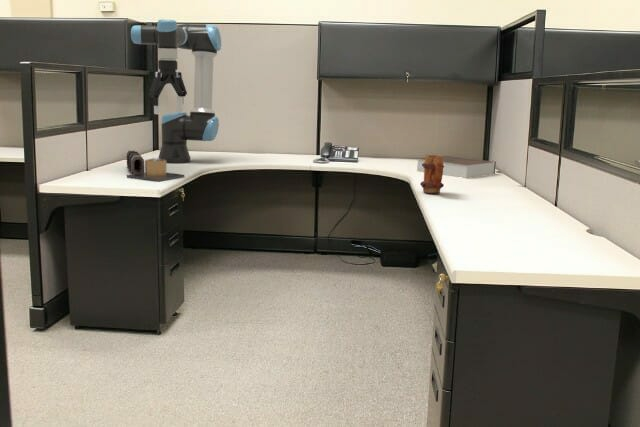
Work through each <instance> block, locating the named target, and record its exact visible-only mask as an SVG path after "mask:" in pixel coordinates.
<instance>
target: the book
mask: <svg viewBox="0 0 640 427" xmlns="http://www.w3.org/2000/svg"><path fill="white" fill-rule="evenodd" d="M441 156H442V158H443V165H444V168H443V176H446V177H452V176H453V177H454V178H459V177H462V178H461V179H471V178H470V177H474V178H478V177H477V176H481V177H484V176H483V175H488V176H491V175H490V174H496V166H497V163H496V161H491V160H484V159H475V158H466V157H459V156H452V155H441ZM416 159H417V163H416V164H417V168H416V171H417V172H420V173H424V168H423V166H422V164H423V163H424V162H425V157H423V158H422V157H421V158H416Z"/></svg>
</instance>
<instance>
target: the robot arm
mask: <svg viewBox="0 0 640 427" xmlns="http://www.w3.org/2000/svg"><path fill="white" fill-rule="evenodd" d="M130 38H131V41H132V42H133V44H137V45H157V59H158V61H157V63H158V64H157V65H158V66H157V67H158V70H159V71H154V72H153V79H152V83H151V85H150V89H149V92H148V96H150V98H152V103H153V104H152V105H153V114H154V115H161V113H162V112H161V111H162V109H161V107H162V106H161V97H160V95H161V94H162V91H163V89H164V88H165V86H166V85H168V84H170V85H171V86H172V88H173V89H174V91H175V92H176V95H177V96H176V112H175V113H174V112H173V113H165V114H163V115H162V116H161V124H160V125H161V147H160V150H159V154H158V157H157V158H159V159H164V160H166V164H167V163H168V164H183V163H184V164H185V163H191V155H190V153H189V152H190V151H189V149H188V145H187V141H196V142H198V141H200V142H206V141H207V142H211V141H214V140H215V139H216V137H217V134H218V132H219V125H220V123H219V118H218V117H217V116H216V112H215V111H214V110H213V84H214V81H213V80H214V59H215V58H216V57H217V56H218V54H217V53H218V52H219V51H220V50H221V49H222V48H221V47H222V37H221V33H220V30H219V28H218V26H216V25H215V24H205V23H202V24H201V23H200V24H199V23H198V24H197V23H195V24H194V23H193V24H192V23H181V24H177V21H176V20H175V19H165V18H164V19H158V21H157V24H156V25H142V24H141V25H140V24H138V25H133V26H132V27H131V29H130ZM178 49H181V50H189V51H190V50H191V54H192V55H193V57H194V78H193V79H194V82H193V86H194V87H193V88H194V89H193V108H192V110H190V112H189V115H188V114H187V112H184V98H185V97H186V96H187V95H188V92H187V90H186V86H185V83H184V80H183V76H182V72H180V71H177V70H178V61H177V60H178Z"/></svg>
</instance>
